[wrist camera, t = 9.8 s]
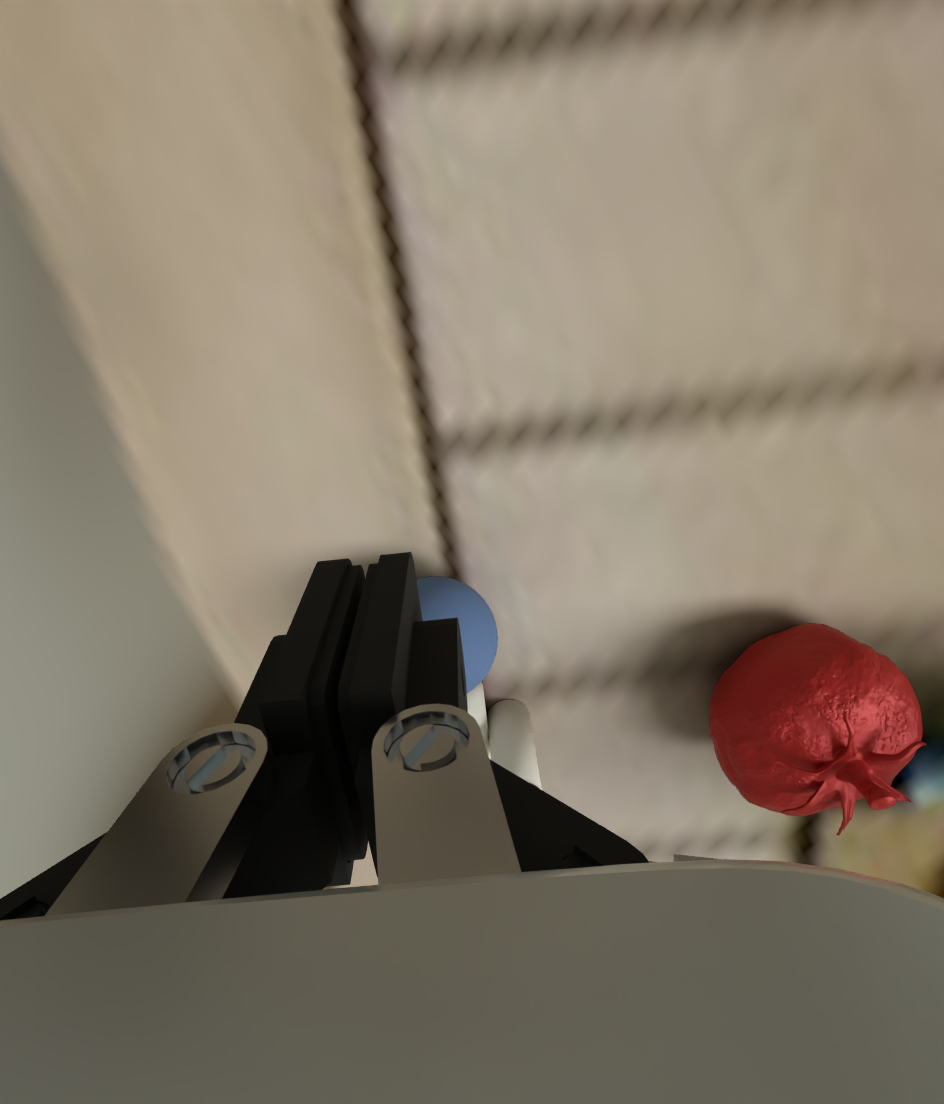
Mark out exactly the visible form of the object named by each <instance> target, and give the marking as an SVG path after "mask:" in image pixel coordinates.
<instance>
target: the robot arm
mask: <svg viewBox="0 0 944 1104" xmlns="http://www.w3.org/2000/svg"><path fill="white" fill-rule="evenodd" d="M368 841H369V845H370V849H371V853H372V857H373V862H374V866H375V870H376V874H377V877H378V884H379V885H371V886H360V887H348V888H337V889H327V890H322V889H323V888H325V887H328V886H338V885H349V884H350V882H351V876H352V869H353V863H354V860H359V859H364V858H365V856H366V851H367V845H368ZM0 1104H944V898H941V897H939V896H936V895H934V894H931V893H928V892H925V891H922V890H919V889H915V888H912V887H909V886H906V885H903V884H900V883H896V882H892V881H888V880H883V879H879V878H875V877H871V876H867V875H863V874H858V873H854V872H850V871H846V870H842V869H836V868H829V867H821V866H813V865H806V864H798V863H790V862H782V861H759V860H730V859H713V858H704V857H695V856H686V855H677V854H674V856H673V862H652V861H648V860H647V859H646V857H645V856H644V855H643V853H641V852H640V851H639V850H638V849H636V848H635V847H634V846H632V845H631V844H630V843H629V842H627V841H626V840H624V839H622V838H621V837H619V836H617V835H616V834H614V833H612V832H611V831H609V830H607V829H606V828H604V827H602V826H601V825H599V824H597V823H596V822H594V821H592V820H591V819H589V818H587V817H586V816H584V815H582V814H581V813H579V812H577V811H576V810H574V809H572V808H571V807H569V806H567V805H566V804H564V803H562V802H561V801H559V800H557V799H556V798H554V797H552V796H551V795H549V794H547V793H546V792H544V791H542V790H541V789H539V788H537V787H536V786H534V785H532V784H531V783H529V782H527V781H526V780H524V779H522V778H521V777H519V776H517V775H516V774H514V773H512V772H510V771H509V770H507V769H505V768H504V767H502V766H500V765H499V764H497V763H495V762H494V761H492V760H490V759H489V757H488V753H487V750H486V746H485V743H484V739H483V736H482V732H481V729H480V727H479V725H478V723H477V722H476V720H475V718H474V717H472V716H471V715H470V714H469V713H468V705H467V688H466V676H465V666H464V657H463V649H462V641H461V633H460V626H459V620H458V617H457V618H447V619H437V620H427V621H423V619H422V613H421V606H420V600H419V593H418V587H417V580H416V574H415V568H414V562H413V557H412V554H411V552H407V553H397V554H388V555H380V558H379V562H378V563H377V564H369V567H368V571H367V575H366V579H365V575H364V571H363V568H362V566H361V565H357V566H352V563H351V561H350V560H349V559H339V560H329V561H319V562H317V564H316V566H315V568H314V571H313V573H312V575H311V578H310V580H309V582H308V585H307V587H306V589H305V592H304V594H303V597H302V599H301V601H300V604H299V606H298V608H297V611H296V613H295V615H294V618H293V620H292V623H291V625H290V627H289V630H288V632H287V634H286V635H278V636H275V637H274V638H273V639H272V641H271V642H270V645H269V647H268V649H267V651H266V653H265V656H264V658H263V660H262V662H261V664H260V667H259V669H258V671H257V673H256V675H255V678H254V680H253V682H252V684H251V686H250V689H249V691H248V693H247V695H246V697H245V700H244V702H243V704H242V706H241V708H240V711H239V713H238V715H237V718H236V719H235V722H234V724H224V725H218V726H215V727H212V728H209V729H205V730H202V731H200V732H198V733H196V734H194V735H192V736H190V737H188V738H186V739H185V740H183V741H182V742H181V743H179V744H178V745H176V746H175V747H174V748H172V749H171V751H170V752H169V753H168V754H167V755H166V756H165V757H164V758H163V759H162V760H161V761H160V763H159V764H158V765H157V767H156V768H155V769H154V771H153V772H152V773H151V775H150V776H149V777H148V779H147V780H146V781H145V783H144V784H143V785H142V787H141V788H140V789H139V791H138V792H137V793H136V795H135V796H134V797H133V799H132V800H131V801H130V803H129V804H128V805H127V807H126V808H125V809H124V811H123V812H122V813H121V815H120V816H119V817H118V819H117V820H116V821H115V823H114V824H113V825H112V827H111V828H110V829H109V831H108V832H106V833H105V834H103V835H102V836H100V837H98V838H97V839H95V840H94V841H92V842H90V843H89V844H87V845H86V846H84V847H82V848H81V849H79V850H78V851H76V852H74V853H73V854H71V855H70V856H68V857H66V858H65V859H63V860H62V861H60V862H58V863H57V864H55V865H54V866H52V867H51V868H49V869H48V870H46V871H44V872H43V873H41V874H39V875H38V876H36V877H35V878H33V879H31V880H30V881H28V882H27V883H25V884H23V885H22V886H20V887H19V888H17V889H16V890H14V891H12V892H11V893H9V894H7V895H6V896H4V897H3V898H1V899H0Z"/></svg>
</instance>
